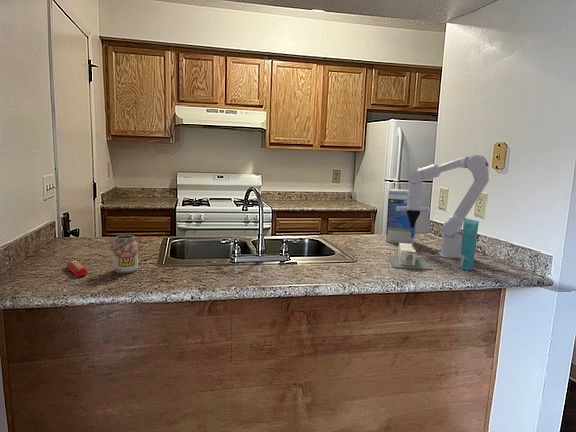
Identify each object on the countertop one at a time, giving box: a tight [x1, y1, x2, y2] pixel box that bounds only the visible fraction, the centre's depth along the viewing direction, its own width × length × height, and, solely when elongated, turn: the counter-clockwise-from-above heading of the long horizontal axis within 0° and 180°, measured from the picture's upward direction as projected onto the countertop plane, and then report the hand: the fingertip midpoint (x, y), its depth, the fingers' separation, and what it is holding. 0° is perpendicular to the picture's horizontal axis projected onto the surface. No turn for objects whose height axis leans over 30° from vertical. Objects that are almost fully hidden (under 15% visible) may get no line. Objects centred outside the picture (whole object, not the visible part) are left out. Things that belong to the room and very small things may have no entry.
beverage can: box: [108, 234, 139, 274], centre depth 140 cm, size 9×8×12 cm
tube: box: [459, 217, 480, 271], centre depth 154 cm, size 7×5×19 cm, turn 26°
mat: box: [388, 255, 433, 271], centre depth 161 cm, size 14×16×1 cm
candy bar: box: [66, 259, 88, 278], centre depth 139 cm, size 16×4×3 cm, turn 39°
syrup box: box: [397, 243, 417, 266], centre depth 162 cm, size 6×6×14 cm
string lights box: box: [385, 188, 417, 245], centre depth 198 cm, size 13×8×26 cm, turn 66°
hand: (412, 227), depth 182 cm, fingers closed
